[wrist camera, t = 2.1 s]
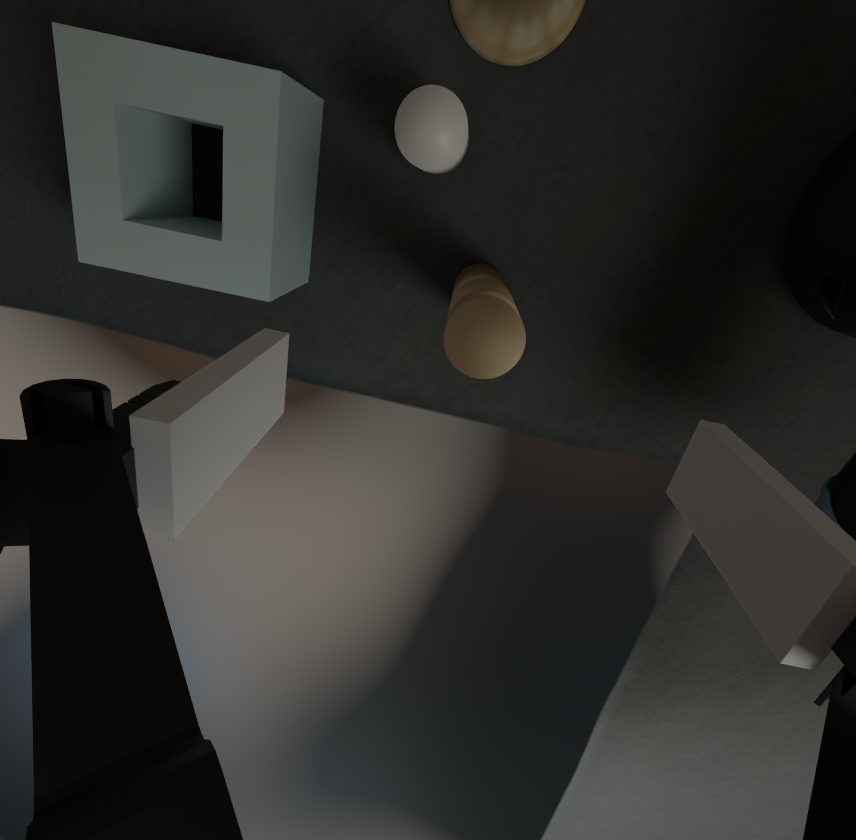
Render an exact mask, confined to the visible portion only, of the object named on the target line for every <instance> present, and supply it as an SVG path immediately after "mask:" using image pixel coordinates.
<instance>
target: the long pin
mask: <svg viewBox="0 0 856 840" xmlns="http://www.w3.org/2000/svg"><path fill="white" fill-rule="evenodd" d="M525 342H526V333H525V328H524V325H523V322H522V320H521V318H520V315H519V313H518V310H517V308H516V305H515V303H514V301H513V298H512V296H511V293H510V291H509V288H508V286H507V284H506V281H505V279H504V277H503V275H502V274H501V272H500V271H499V270H498V269H496V268H495V267H493V266H491V265H489V264H484V263H478V264H473V265H470V266H468V267H467V268H465V269H464V270H463V271H462V272H461V273H460V274H459V275H458V277H457V278H456V281H455V284H454V288H453V293H452V298H451V303H450V308H449V313H448V318H447V323H446V328H445V333H444V347H445V351H446V354H447V356H448V358H449V360H450V362H451V363H452V364H453V366H454V367H455V368H457V369H458V370H459V371H460V372H462V373H463V374H465V375H468V376H470V377H473V378H479V379H489V378H494V377H498V376H500V375H502V374H504V373H506V372H508V371H509V370H510V369H511V368H513V367H514V366H515V365H516V363H517V362H518V361H519V359H520V358H521V356H522V354H523V351H524V348H525Z"/></svg>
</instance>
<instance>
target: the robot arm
mask: <svg viewBox="0 0 856 840" xmlns="http://www.w3.org/2000/svg"><path fill="white" fill-rule="evenodd" d="M787 263H788V273H789V278H790V282H791V285H792V288H793V291H794V293H795V295H796V297H797V299H798V301H799V302H800V304H801V305H802V307H803V308H804V309H805V310H806V312H807V313H808V314H809V315H810V316H812V317H813V318H814V319H815V320H816V321H818V322H819V323H821V324H822V325H824V326H826V327H828V328H830V329H832V330H834V331H837V332H840V333H843V334H845V335H848V336H851V337H854V338H856V134H855V135H854V136H853V137H852V138H851V139H850V140H848V141H847V142H846V143H845V144H844V145H843V146H842V147H841V148H840V149H839V150H838V151H837V152H836V153H835V154H834V155H833V156H832V157H831V159H830V160H829V161H828V162H827V163H826V164H825V166H824V167H823V168H822V170H821V171H820V172H819V174H818V175H817V176H816V178H815V179H814V181H813V182H812V184H811V185H810V187H809V189H808V190H807V192H806V194H805V196H804V198H803V200H802V202H801V204H800V206H799V208H798V211H797V213H796V216H795V219H794V222H793V225H792V228H791V233H790V237H789V243H788V254H787ZM288 345H289V333H286V332H281V331H276V330H271V329H267V328H265V329H263V330H261V331H260V332H258V333H257V334H255V335H254V336H252V337H251V338H249V339H247V340H246V341H244V342H243V343H241V344H240V345H238V346H237V347H235V348H233V349H232V350H230V351H229V352H227V353H226V354H224V355H223V356H221V357H219V358H218V359H216V360H215V361H213V362H212V363H210V364H209V365H207V366H206V367H204V368H202V369H201V370H199V371H198V372H196V373H195V374H193V375H192V376H190V377H188V378H187V379H185V380H184V381H182V382H181V381H176V380H172V381H168V382H165V383H161V384H157V385H154V386H152V387H150V388H148V389H147V390H145V391H143V392H142V393H140V394H139V396H135V397H133V398H132V399H130V400H129V401H128V403H126V402H125V403H123V404H122V405H120V406H118V407H117V408H115V409H113V410H112V403H111V392H110V389H109V388H108V387H107V386H106V385H104V384H101V383H99V382H96V381H91V380H83V379H59V380H50V381H45V382H42V383H38V384H34V385H32V386H30V387H28V388H26V389H24V390H23V392H22V393H21V395H20V401H21V407H22V412H23V418H24V423H25V429H26V434H27V440H10V439H0V554H1V551H2V550H3V547H4V546H28V545H29V552H30V553H29V554H30V607H31V659H32V706H33V707H32V709H33V759H34V816H33V821H32V822H31V823H30V824H29V825H28V827H27V833H26V840H243V838H242V835H241V832H240V828H239V825H238V822H237V818H236V815H235V812H234V808H233V805H232V802H231V798H230V795H229V792H228V788H227V785H226V782H225V778H224V775H223V772H222V769H221V766H220V763H219V760H218V757H217V754H216V751H215V749H214V747H213V745H212V743H211V741H210V740H204V738H203V736H202V734H201V731H200V728H199V725H198V721H197V718H196V714H195V711H194V707H193V704H192V700H191V697H190V693H189V690H188V686H187V683H186V679H185V676H184V672H183V669H182V665H181V662H180V659H179V655H178V651H177V648H176V645H175V641H174V637H173V634H172V630H171V627H170V623H169V620H168V616H167V613H166V609H165V606H164V602H163V599H162V595H161V592H160V588H159V585H158V581H157V578H156V574H155V570H154V567H153V564H152V560H151V556H150V553H149V549H148V546H147V543H146V539H145V536H144V534H149V535H154V536H159V537H163V538H168V539H173V540H175V538H176V537H177V536H178V535H179V534H180V533H181V532H182V530H183V529H184V528H185V527H186V526H187V525H188V523H189V522H190V521H191V520H192V519H193V518H194V516H195V515H196V514H197V513H198V512H199V511H200V509H201V508H202V507H203V506H204V505H205V504H206V502H207V501H208V500H209V499H210V498H211V497H212V495H213V494H214V493H215V492H216V491H217V490H218V488H219V487H220V486H221V485H222V484H223V482H224V481H225V480H226V479H227V478H228V476H229V475H231V473H232V472H233V471H234V470H235V468H237V466H238V465H239V464H240V463H241V461H243V459H244V458H245V457H246V456H247V455H248V454H249V452H250V451H251V450H252V449H253V448H254V447H255V445H256V444H257V443H258V442H259V441H260V440H261V438H262V437H263V436H264V435H265V434H266V432H267V431H268V430H269V429H270V428H271V427H272V426H273V424H274V423H275V422H276V421H277V420H278V418H279V417H280V416H281V415H282V414H283V413H284V401H285V386H286V373H287V359H288ZM666 493H667V495H668V496H669V497H670V499H671V500H672V502H673V503H674V505H675V507H676V508H677V510H678V511H679V513H680V514H681V516H682V517H683V519H684V520H685V522H686V523H687V524H688V526H689V527H690V529H691V530H692V532H693V533H694V535H695V536H696V538H697V539H698V541H699V542H700V544H701V545H702V547H703V548H704V550H705V551H706V553H707V554H708V556H709V557H710V559H711V560H712V562H713V563H714V565H715V566H716V568H717V569H718V571H719V572H720V574H721V575H722V577H723V578H724V580H725V581H726V583H727V584H728V586H729V587H730V589H731V590H732V592H733V593H734V595H735V596H736V598H737V599H738V601H739V602H740V604H741V605H742V607H743V608H744V610H745V611H746V613H747V614H748V616H749V617H750V619H751V620H752V622H753V623H754V625H755V626H756V628H757V629H758V631H759V632H760V634H761V635H762V636H763V638H764V639H765V641H766V642H767V644H768V645H769V647H770V648H771V650H772V651H773V653H774V654H775V656H776V657H777V659H778V660H779V662H780V663H781V664H786V665H791V666H796V667H801V668H806V669H811V670H816V669H817V668H818V666H819V665H820V664H821V662H822V661H823V660H824V659H825V657H826V656H827V655H828V654H829V652H830V651H831V650H833V652H834V653H835V654H836V655H837V657H838V658H839V659H840V660H841V662H842V663H843V664H844V666H843V667H842V669H841V670H840V671H839V672H838V674H837V675H836V676H835V677H834V678H833V680H832V681H831V682H830V683H829V684H828V686H827V687H826V688H825V689H824V691H823V692H822V693H821V694H820V695H819V697H818V698H817V699H816V700H815V701H814V703H815V704H817V705H818V706H821V705H822V704H823V703H824V702H829V704H828V709H827V714H826V720H825V725H824V730H823V735H822V741H821V746H820V751H819V757H818V762H817V767H816V773H815V778H814V783H813V789H812V794H811V799H810V804H809V810H808V815H807V820H806V826H805V831H804V836H803V840H856V453H855V454H854V455H853V456H852V457H851V459H850V460H849V461H848V462H847V463H846V465H845V466H844V467H843V468H842V469H841V471H840V472H839V473H838V474H837V475H836V476H834V477H829V478H828V479H827V480H826V481H825V482H824V484H823V485H822V488H821V495H820V496H819V498H818V499H817V501H816V502H815V503H814V504H813V503H812V502H811V501H810V500H809V499H808V498H807V497H806V496H804V495H803V494H802V493H801V492H800V491H799V490H798V489H796V488H795V487H794V486H793V485H792V484H791V483H790V482H789V481H787V480H786V479H785V478H784V477H783V476H782V475H781V474H780V473H778V472H777V471H776V470H775V469H774V468H773V467H772V466H771V465H769V464H768V463H767V462H766V461H765V460H764V459H763V458H762V457H760V456H759V455H758V454H757V453H756V452H755V451H754V450H753V449H751V448H750V447H749V446H748V445H747V444H746V443H745V442H744V441H742V440H741V439H740V438H739V437H738V436H737V435H736V434H735V433H733V432H732V431H731V430H730V429H729V428H728V427H727V426H726V425H724V424H720V423H715V422H710V421H705V420H700V422H699V424H698V426H697V428H696V430H695V432H694V434H693V436H692V438H691V440H690V443H689V445H688V447H687V449H686V451H685V453H684V455H683V457H682V459H681V461H680V463H679V465H678V467H677V470H676V472H675V474H674V476H673V478H672V480H671V482H670V484H669V486H668V488H667V491H666Z"/></svg>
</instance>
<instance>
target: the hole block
mask: <svg viewBox="0 0 856 840" xmlns="http://www.w3.org/2000/svg"><path fill="white" fill-rule="evenodd" d="M52 29H53V38H54V47H55V56H56V65H57V73H58V82H59V91H60V100H61V109H62V118H63V127H64V136H65V145H66V153H67V162H68V171H69V180H70V189H71V198H72V207H73V216H74V225H75V234H76V242H77V251H78V260H79V262H83V263H88V264H92V265H97V266H102V267H107V268H111V269H116V270H121V271H125V272H130V273H135V274H140V275H144V276H149V277H154V278H158V279H163V280H168V281H173V282H177V283H182V284H187V285H191V286H196V287H201V288H206V289H210V290H215V291H220V292H224V293H229V294H234V295H239V296H243V297H248V298H253V299H258V300H262V301H267V302H270V301H272V300H274V299H276V298H278V297H280V296H282V295H284V294H286V293H288V292H290V291H292V290H294V289H295V288H297V287H299V286H301V285H303V284H305V283H307V282H309V271H310V259H311V247H312V235H313V224H314V212H315V200H316V188H317V176H318V165H319V153H320V141H321V129H322V117H323V106H324V100H323V99H322V98H320V97H319V96H317V95H316V94H314V93H313V92H311V91H310V90H308V89H307V88H305V87H304V86H302V85H301V84H299V83H298V82H296V81H295V80H293V79H292V78H290V77H289V76H287V75H286V74H284V73H283V72H281V71H277V70H273V69H268V68H264V67H259V66H254V65H250V64H245V63H240V62H236V61H231V60H226V59H222V58H217V57H212V56H208V55H203V54H198V53H194V52H189V51H185V50H180V49H175V48H171V47H166V46H161V45H157V44H152V43H147V42H143V41H138V40H133V39H129V38H124V37H119V36H115V35H110V34H106V33H101V32H96V31H92V30H87V29H82V28H78V27H73V26H68V25H64V24H59V23H54V22H52ZM192 123H193V124H198V125H203V126H207V127H212V128H217V129H221V130H223V203H222V222H220V221H215V220H210V219H206V218H201V217H196V216H193V177H192Z"/></svg>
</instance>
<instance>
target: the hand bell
mask: <svg viewBox="0 0 856 840" xmlns="http://www.w3.org/2000/svg"><path fill="white" fill-rule="evenodd" d="M584 3H585V0H450V7H451V11H452V15H453V18H454V21H455V23H456V26H457V28H458V30H459V32H460V34H461V35H462V37H463V38H464V40H465V41H466V43H467V44H468V45H469V46H470V48H471V49H472V50H474V51H475V52H476V53H477V54H478V55H479V56H481V57H482V58H484V59H486V60H488V61H490V62H493V63H495V64H500V65H505V66H521V65H525V64H530V63H532V62H535V61H537V60H539V59H541V58H543V57H545V56H546V55H548V54H549V53H550V52H552V51H553V50H554V49H555V48H557V47H558V46H559V45H560V44H561V43H562V42H563V41H564V40H565V38H566V37H567V36H568V34H569V33H570V31H571V30H572V29H573V27H574V25H575V24H576V22H577V20H578V18H579V16H580V14H581V11H582V9H583V6H584Z"/></svg>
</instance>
